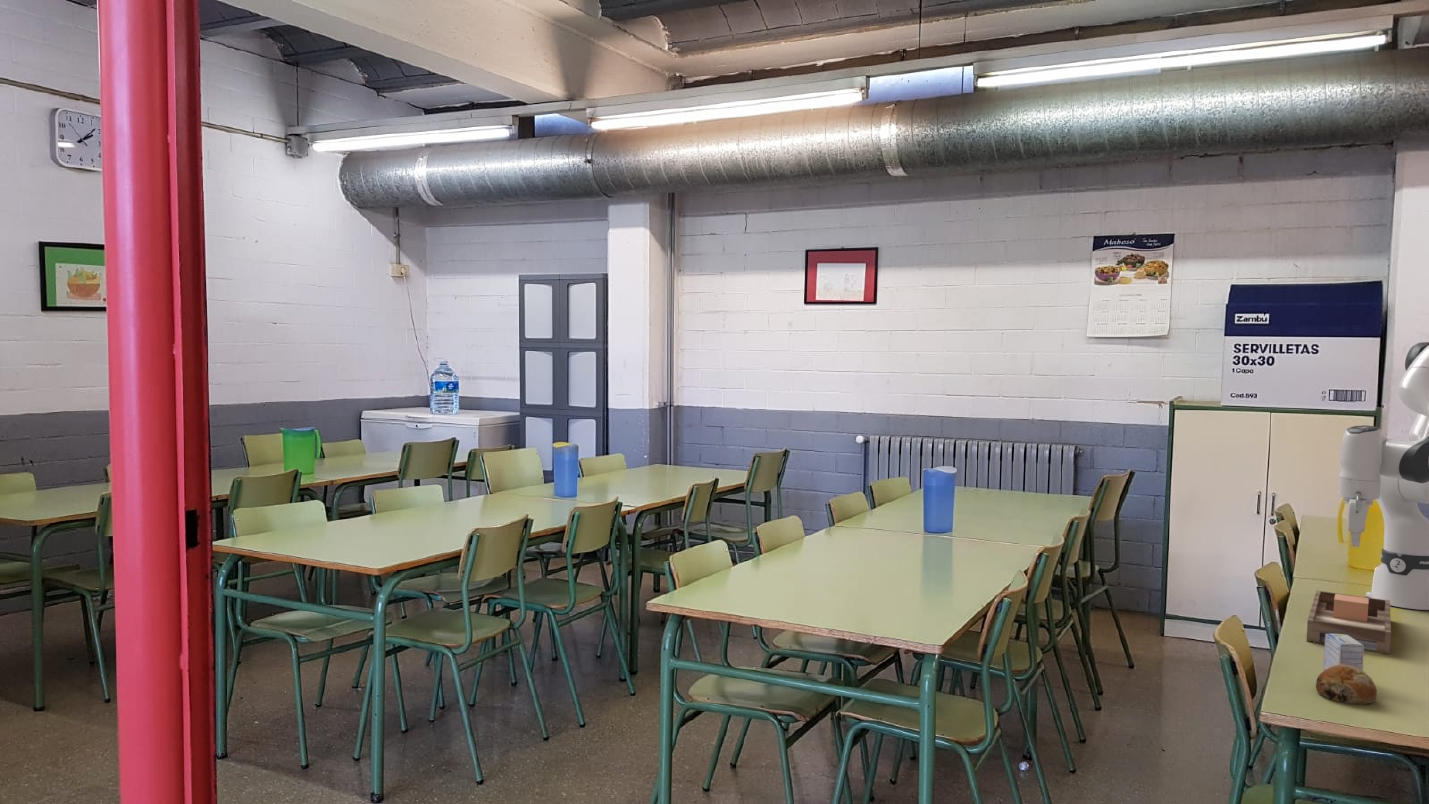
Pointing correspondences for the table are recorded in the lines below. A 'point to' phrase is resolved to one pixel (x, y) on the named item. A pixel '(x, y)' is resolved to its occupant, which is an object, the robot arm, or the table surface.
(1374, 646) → the tray
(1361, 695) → the bread roll
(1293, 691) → the table surface
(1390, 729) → the table surface
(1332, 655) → the medicine box
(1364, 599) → the block
